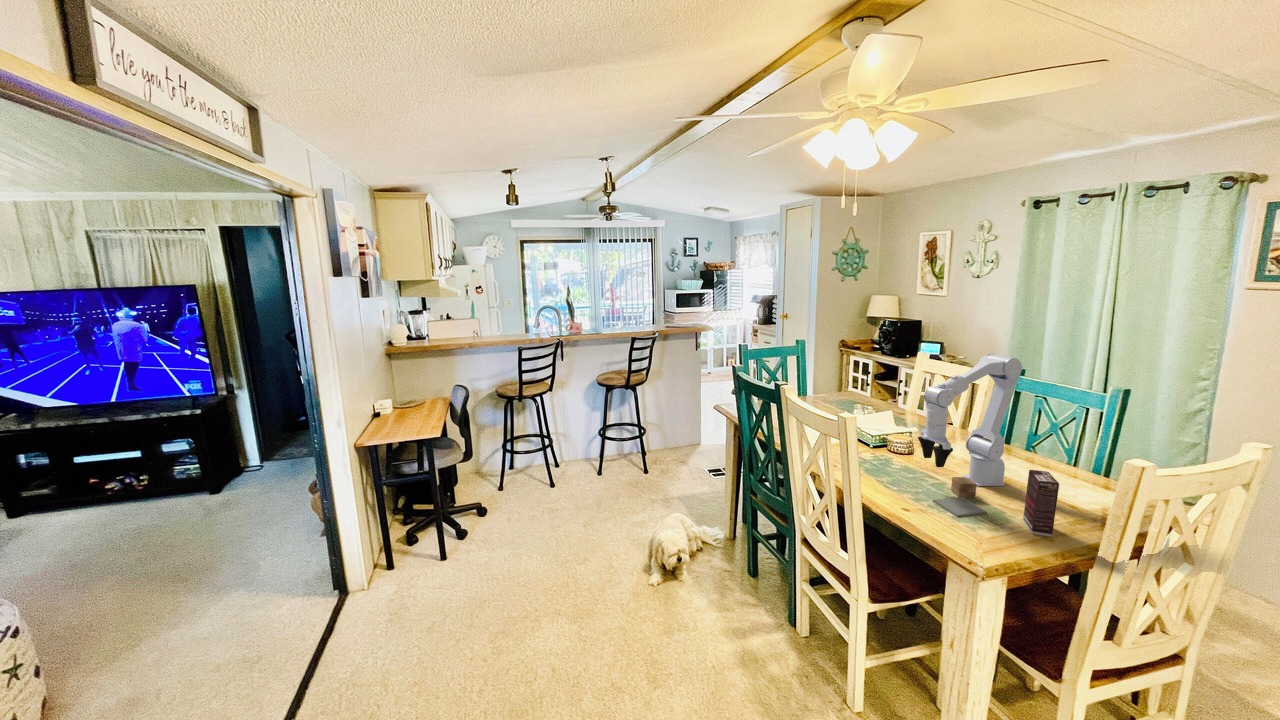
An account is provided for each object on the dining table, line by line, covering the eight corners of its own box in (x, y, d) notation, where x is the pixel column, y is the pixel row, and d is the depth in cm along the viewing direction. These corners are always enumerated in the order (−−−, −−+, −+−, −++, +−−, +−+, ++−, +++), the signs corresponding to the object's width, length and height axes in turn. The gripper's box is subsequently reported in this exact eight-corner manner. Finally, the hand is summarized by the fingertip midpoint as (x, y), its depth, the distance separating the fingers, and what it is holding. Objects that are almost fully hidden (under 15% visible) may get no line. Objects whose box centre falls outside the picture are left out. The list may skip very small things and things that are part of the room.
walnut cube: (967, 491, 163) (968, 477, 163) (975, 498, 159) (976, 484, 158) (951, 491, 164) (952, 477, 163) (958, 498, 159) (959, 483, 158)
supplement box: (1053, 537, 135) (1060, 483, 132) (1031, 534, 137) (1038, 481, 134) (1042, 522, 143) (1049, 471, 140) (1022, 519, 145) (1028, 468, 142)
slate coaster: (961, 498, 159) (961, 496, 159) (986, 513, 149) (987, 511, 149) (932, 501, 157) (933, 499, 157) (957, 516, 148) (957, 514, 148)
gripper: (912, 416, 169) (910, 454, 171) (935, 430, 155) (932, 471, 157) (933, 416, 169) (931, 453, 171) (958, 430, 154) (955, 470, 157)
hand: (933, 462), depth 164 cm, fingers open, 7 cm apart
